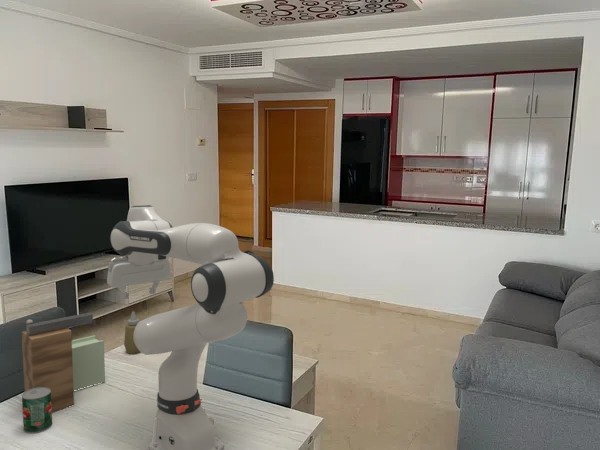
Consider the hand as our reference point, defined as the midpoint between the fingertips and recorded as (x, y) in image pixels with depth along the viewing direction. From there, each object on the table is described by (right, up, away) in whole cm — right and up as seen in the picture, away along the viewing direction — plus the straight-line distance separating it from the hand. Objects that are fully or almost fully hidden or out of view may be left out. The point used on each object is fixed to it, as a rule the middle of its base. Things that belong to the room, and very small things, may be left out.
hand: (139, 295), depth 156 cm
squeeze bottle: (-20, -33, +54) cm, 66 cm away
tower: (-32, -38, +5) cm, 50 cm away
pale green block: (-29, -36, +21) cm, 51 cm away
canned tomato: (-29, -40, -7) cm, 50 cm away
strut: (-28, -12, +6) cm, 31 cm away
